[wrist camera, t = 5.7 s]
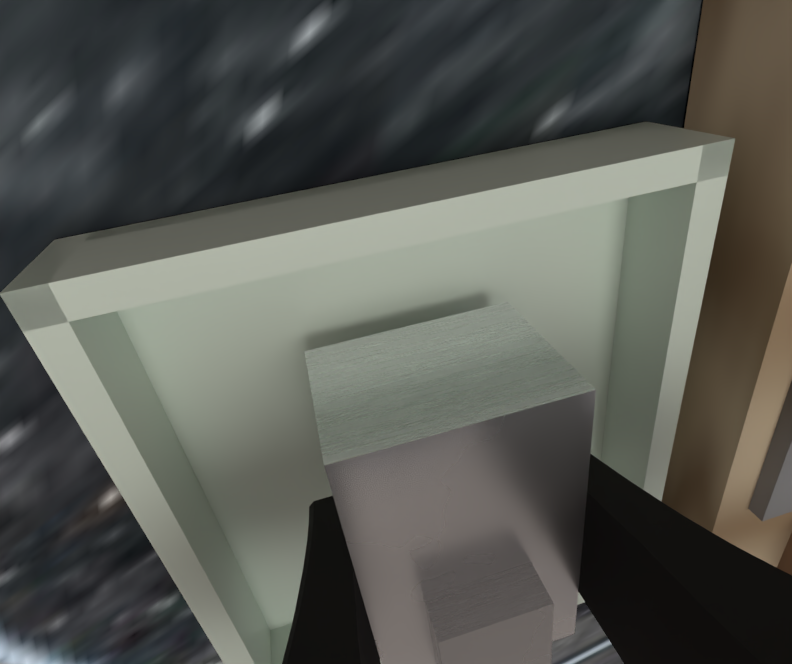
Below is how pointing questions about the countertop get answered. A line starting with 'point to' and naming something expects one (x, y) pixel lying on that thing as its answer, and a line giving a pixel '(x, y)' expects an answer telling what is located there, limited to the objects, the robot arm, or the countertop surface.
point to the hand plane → (743, 291)
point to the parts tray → (362, 333)
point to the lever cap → (458, 484)
